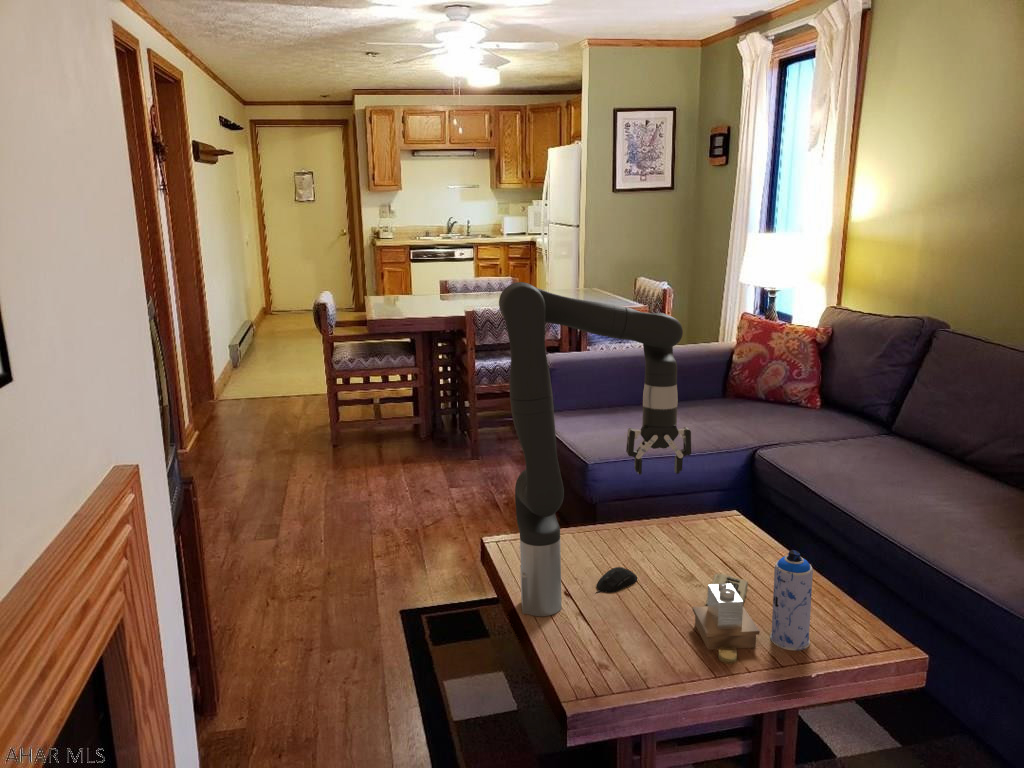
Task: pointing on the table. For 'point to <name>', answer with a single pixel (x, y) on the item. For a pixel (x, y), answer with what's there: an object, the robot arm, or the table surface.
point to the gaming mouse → (616, 580)
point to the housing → (725, 606)
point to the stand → (725, 631)
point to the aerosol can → (792, 602)
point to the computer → (737, 583)
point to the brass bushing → (727, 654)
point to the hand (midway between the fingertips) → (657, 473)
